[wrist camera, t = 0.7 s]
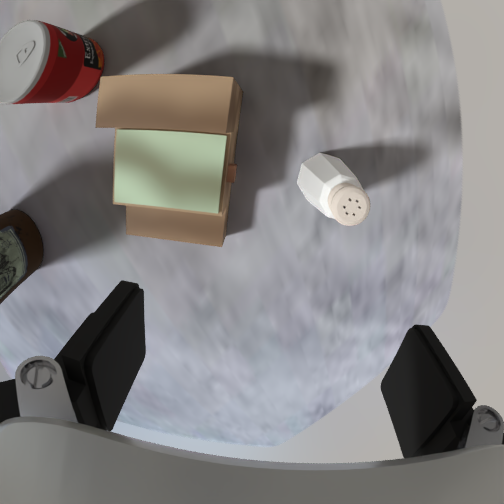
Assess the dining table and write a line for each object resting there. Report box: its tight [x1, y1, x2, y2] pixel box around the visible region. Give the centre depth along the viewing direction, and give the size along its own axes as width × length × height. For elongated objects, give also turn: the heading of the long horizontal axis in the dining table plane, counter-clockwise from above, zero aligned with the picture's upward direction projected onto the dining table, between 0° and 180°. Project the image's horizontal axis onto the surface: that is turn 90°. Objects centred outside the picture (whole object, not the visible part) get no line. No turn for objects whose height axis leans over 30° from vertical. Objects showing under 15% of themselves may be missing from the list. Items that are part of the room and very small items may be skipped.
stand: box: [96, 74, 243, 247], centre depth 26 cm, size 15×11×10 cm
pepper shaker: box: [297, 153, 370, 226], centre depth 25 cm, size 5×5×11 cm
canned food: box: [0, 20, 104, 104], centre depth 21 cm, size 8×8×11 cm
